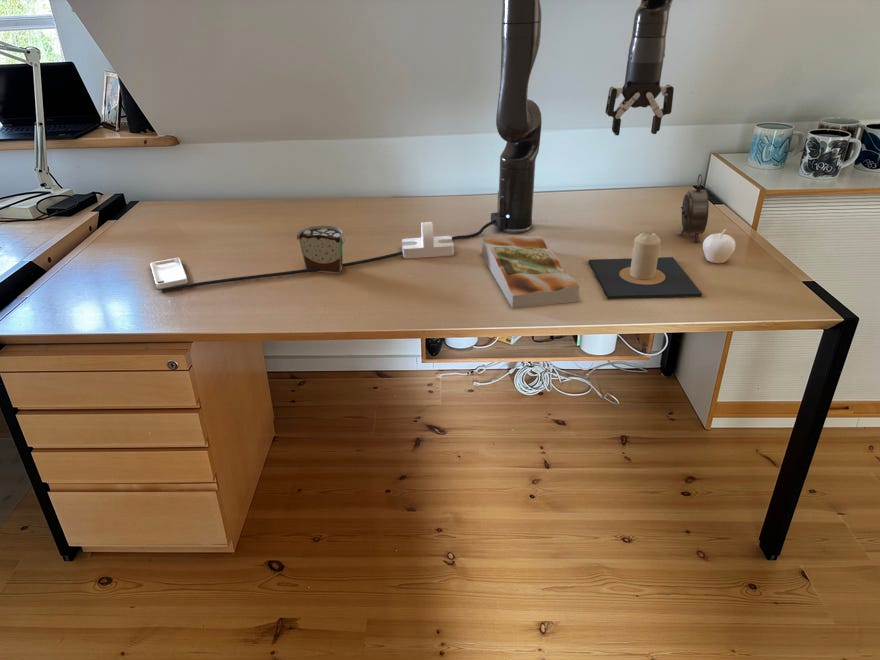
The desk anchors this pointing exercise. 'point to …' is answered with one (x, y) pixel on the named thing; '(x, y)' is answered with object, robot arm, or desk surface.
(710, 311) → the desk surface
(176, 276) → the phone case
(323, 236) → the food container
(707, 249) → the plain white apple
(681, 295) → the mat
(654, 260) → the candle
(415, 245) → the slotted bracket
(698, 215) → the alarm clock
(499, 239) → the topographic model
